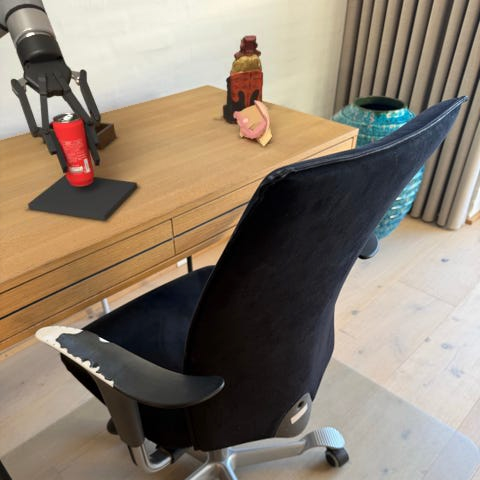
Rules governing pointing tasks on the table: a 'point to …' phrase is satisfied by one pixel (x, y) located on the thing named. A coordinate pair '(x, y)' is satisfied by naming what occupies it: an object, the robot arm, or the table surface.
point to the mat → (84, 198)
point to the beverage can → (74, 148)
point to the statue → (244, 79)
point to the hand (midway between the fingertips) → (81, 166)
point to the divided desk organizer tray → (99, 134)
